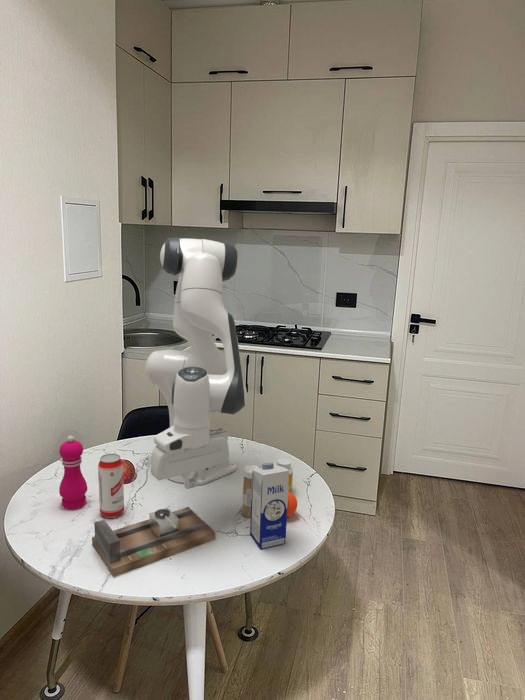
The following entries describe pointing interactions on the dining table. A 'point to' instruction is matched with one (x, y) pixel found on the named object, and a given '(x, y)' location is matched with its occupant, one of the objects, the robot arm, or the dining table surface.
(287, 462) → the supplement bottle
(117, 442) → the dining table surface
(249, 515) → the sprinkles bottle
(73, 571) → the dining table surface
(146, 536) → the gauge base
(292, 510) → the clementine
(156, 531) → the gauge carriage
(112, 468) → the beer can
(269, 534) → the milk carton
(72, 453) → the pepper mill
